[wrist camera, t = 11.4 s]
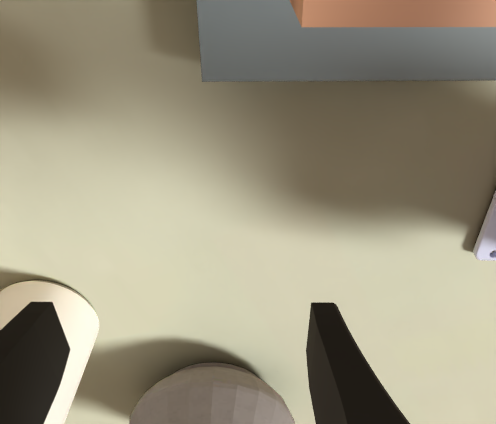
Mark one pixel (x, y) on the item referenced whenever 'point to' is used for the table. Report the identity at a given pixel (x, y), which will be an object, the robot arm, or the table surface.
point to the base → (333, 48)
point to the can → (74, 326)
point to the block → (395, 13)
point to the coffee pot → (211, 398)
